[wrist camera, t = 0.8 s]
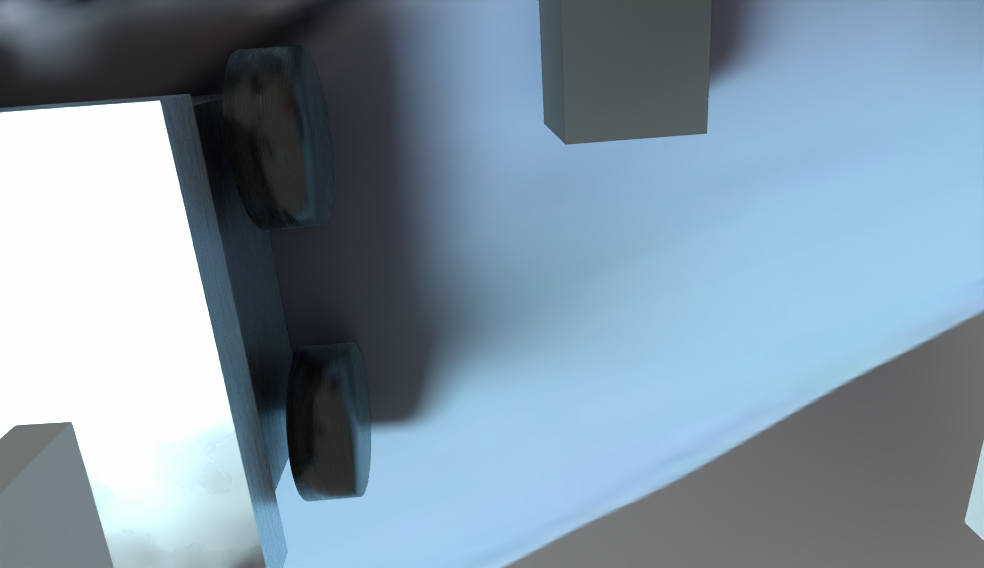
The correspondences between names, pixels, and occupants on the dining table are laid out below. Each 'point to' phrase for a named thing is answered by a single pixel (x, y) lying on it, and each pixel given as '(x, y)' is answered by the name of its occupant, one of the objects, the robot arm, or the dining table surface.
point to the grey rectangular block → (625, 68)
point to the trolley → (178, 310)
